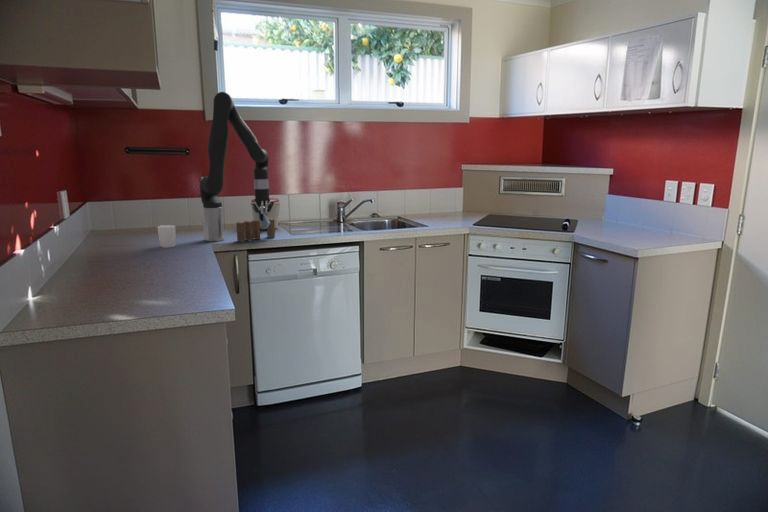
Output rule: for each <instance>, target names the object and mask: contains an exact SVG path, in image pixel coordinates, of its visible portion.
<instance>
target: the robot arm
mask: <svg viewBox="0 0 768 512" xmlns="http://www.w3.org/2000/svg"><path fill="white" fill-rule="evenodd" d="M212 113H213V115H212V121H211V126H210V131H209V137H208V142H207V143H208V144H207V154H208V155H207V156H208V161H209V170H208V175H205V176H203V177H202V178H201V180H200V183H199V189H200V199H201V203H202V207H203V221H202V230H203V231H202V232H203V240H204V241H206V242H220V241H223V240H225V235H224V234H225V233H224V232H225V231H224V220H223V219H224V218H223V204H222V201H221V198H219V194H220V193H221V192H222V191H223V188H224V172H225V163H226V157H227V150H228V144H229V126H228V125H229V124H228V123H230V125H231V126H232V128H233V130H234V131H235V133H236V134H237V136H238V138H239V139H240V141H241V142H242V144H243V146H245V147H246V151H247V152H248V154H249V156H250V158H251V160H252V161H253V162H255V167H254V170H253V176H254V179H253V181H254V182H253V187H254V191H253V192H254V199H255V202H253V203H250V207H251V206H252V207H253V209H254V210H255V212H256V213H259V219H260V220H261V221H263V209H264V211H265V213H266V215H267V213H268V212H270V210H271V208H272V206H273V204H274V202H272V201H270V199H269V198H270V185H269V184H270V183H269V174H268V169H269V168H268V167H269V154H268V152H267V150H266V149H263V148H262V147H261V146H260V144H259V142H258V139H257V137H256V135H254V133H253V131H252V130H251V129H250V127H249V126H248V124H247V123H246V122H245V121H244V119H243V118H242V117H241V115H240V113H239V112H238V109H237V107H236V105H235V102H234V100H233V98H232V96H231V95H230V94H229V93H227V92H225V91H220V92H217V94H215V96H214V97H213V111H212ZM256 204H257V205H258V208H257V205H256ZM267 205H268V206H267Z"/></svg>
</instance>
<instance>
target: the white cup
mask: <svg viewBox="0 0 768 512" xmlns="http://www.w3.org/2000/svg"><path fill="white" fill-rule="evenodd" d="M157 232H158V238H159V246H160V248H165V249H167V248H168V249H169V248H174V247H176V225H174V224H173V225H172V224H165V225H164V224H163V225H160V226H159V225H158V226H157Z"/></svg>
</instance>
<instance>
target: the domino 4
mask: <svg viewBox="0 0 768 512" xmlns="http://www.w3.org/2000/svg"><path fill="white" fill-rule="evenodd" d="M257 215H258V217H259V213H257ZM260 221H261V220H260ZM261 223H262V225H263V227H264V229H267V228H268V226H269V225H270V221H269V219H268V217H267V215H266V213H265V211H264V209H263V221H261Z"/></svg>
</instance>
